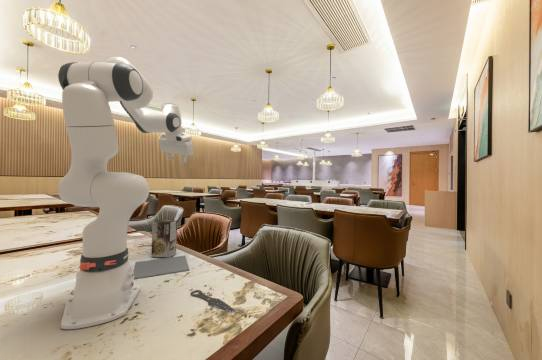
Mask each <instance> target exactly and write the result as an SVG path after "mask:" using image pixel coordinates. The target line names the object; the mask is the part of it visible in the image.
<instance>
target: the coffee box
mask: <svg viewBox="0 0 542 360" xmlns="http://www.w3.org/2000/svg"><path fill="white" fill-rule="evenodd" d="M151 224H152V225H151V226H152V227H151V228H152V231H151V251H150V252H151V253H150V254H151V256H150V257H152V258H153V257H154V258H170V257H174V256H175V255H177V236H178V235H177V233H178V220H171V219H159V220H155V221H152V223H151Z"/></svg>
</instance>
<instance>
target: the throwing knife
mask: <svg viewBox="0 0 542 360" xmlns="http://www.w3.org/2000/svg"><path fill="white" fill-rule="evenodd" d="M190 296H191V297H194V298H198V299H200V300H203V301H205V302H207V305H208V306H209V307H212V308H215V309H219V310H222V311H225V312H228V313H232V312H234V313H233V314H237V313H238V311H236V310H235V309H234V308H233V307H232V306H230V305H229V304H228V303H226V302H225V301H223V300H222V299H220V298H215V297H211V296H208V295H207V294H205V293H203V291H202V290H201V289H196V290H193V291H191V292H190Z"/></svg>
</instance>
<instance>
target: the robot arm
mask: <svg viewBox="0 0 542 360" xmlns="http://www.w3.org/2000/svg"><path fill="white" fill-rule="evenodd" d="M57 77H58V79H57V80H58V83H59V85H60V87H61V89H62V94H61V96H62V97H61V100H62V103H61V105H62V111H63V118H64V119H63V120H64V124H65V129H66V132H67V136H68V141H69V145H70V150H71V162H70V166H69V169H68V171H67V173H66V174H65V175H64V176H63V177H62V178H61V179H60V181H59V183H58V185H57V193H58V196H59V198H60V200H61V201H63V202H64V203H65V204H70V205H73V206H78V207H84V208H99V212H98V215H97V217H96V218H95V220H93V221H91V222H90V223H88V224H87V225H85V227H84V228H83V230H82V254H81V255H80V260H79V270H78V271H77V272H76V273H75V285H74V290H71V293H70V295H71V296H70V297H68V298H67V299H66V301H65V305H64V310H63V314H62V318H61V321H60V326H59V327H60V329H62V330H76V329H77V330H78V329H83V328H89V327H92V326H97V325H100V324H104V323H107V322H108V323H109V322H111V321H114V320H116V319H118V318H122V317H123V316H125V315H127V313H128V311H129V310H130V308H131V306H132V304H133V302H134V301H135V299H136V297H137V296H138V295H139V293H140V291H141V286H140V285H138V284H137V285H136V284H135V279H134V264H132V263H131V262H129V261H128V260H129V248H127V244H128V243H127V239H128V227H129V223H130V219H131V217H132V215H133V214H134V212H135V211H136V210H137V209H138V208H139V207H140V206H141V205H143V204H144V203H146V201H147V199H148V197H149V195H150V185H149V183H148V181H147V179H146V178H145V177H144V176H143V175H141V174H140V175H139V174H135V173H133V172H132V173H131V172H128V171H127V172H125V171H121V172H119V171H108V162H109V160H111V159H112V158H113V157H116V155H117V154H118V153H119V149H120V146H119V141H118V136H117V131H116V126H115V125H116V124H115V121H114V117H113V113H112V110H111V106H110V104H109V103H110V102H119V103H120V105H121V107H122V108H123V110H124V111H125V112H126V113H127V114H126V115H128V116H129V117H130V119H131V120H132V121H133V122H134V125H135V127H136V128H137V130H139V131H140V132H141V133H143V134H149V133H150V134H151V133H159V134H160V133H162V134H161V135H160V136H159V150H160V152H162V153H165V154H166V156H167V158H168V160H169V161H171V162H172V161H174V156H172V154H175V155H182V157H183V159H181V161H182V163H187V162H188V160H187V159H188V156H192V155H193V154H194V145H193V142H192V136H191V135H190V134H188V133H186V132H184V131H183V130H184V129H183V127H182V121H183V120H182V116H181V111H180V108H179V105H177V104H175V103H163V104H162V105H161V110H160V111H146V110H142V109H143V108H146V107H147V106H148V105H149V104H150V103H151V102H152V100H153V98H154V96H153V95H154V91H153V88H152V86H151V84H150V83H149V81H148V80H147V79H146V78H145V76H144V75H143V74H142V73H141V71H139V69H137V68H136V67H135V65H134V64H132V63H131V62H130V61H129V60H127V59H126V58H124V57H121V56H112V57H110V58H109V57H108V59H106V60H105V61H104V62H103V61H95V60H94V61H82V62H78V61H72V62H67V63H65V64H62V65H61V66H60V68H59V71H58V74H57Z"/></svg>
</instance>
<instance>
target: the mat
mask: <svg viewBox="0 0 542 360" xmlns="http://www.w3.org/2000/svg"><path fill="white" fill-rule="evenodd" d="M133 269H134V280H138V279H144V278H151V277H157V276H163V275H170V274H177V273H183V272H188V271H190V267H189V263H188V261H187V257H186V255H180V256H171V257H161V258H156V259H148V260H141V261H135V263H134V265H133Z"/></svg>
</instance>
